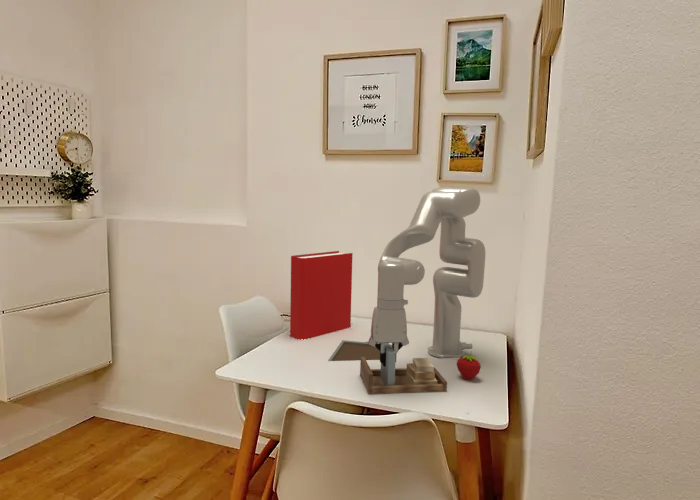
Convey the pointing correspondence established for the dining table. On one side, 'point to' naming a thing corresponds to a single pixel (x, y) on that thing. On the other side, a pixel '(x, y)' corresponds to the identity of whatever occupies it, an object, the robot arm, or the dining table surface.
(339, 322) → the book
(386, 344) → the grey square slab
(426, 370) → the offcut top
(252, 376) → the dining table surface
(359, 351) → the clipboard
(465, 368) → the strawberry
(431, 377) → the offcut middle
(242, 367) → the dining table surface
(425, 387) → the tray
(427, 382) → the offcut bottom
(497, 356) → the dining table surface
